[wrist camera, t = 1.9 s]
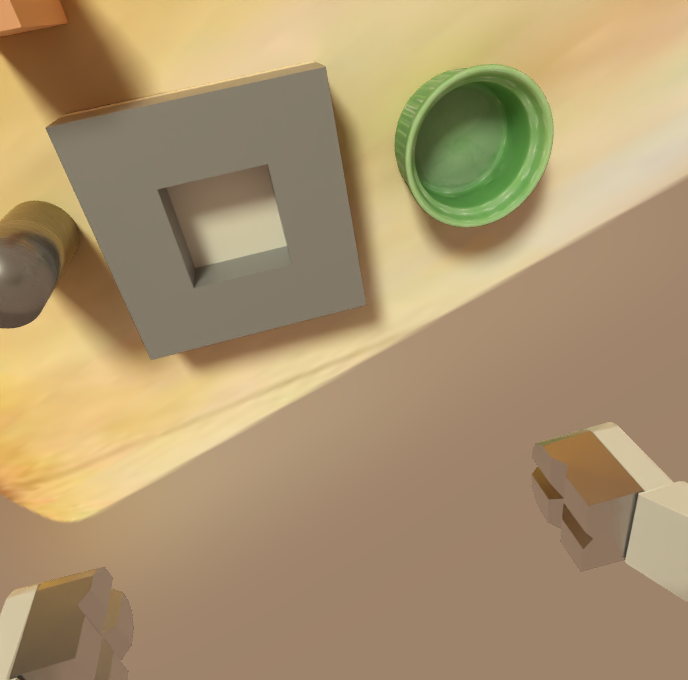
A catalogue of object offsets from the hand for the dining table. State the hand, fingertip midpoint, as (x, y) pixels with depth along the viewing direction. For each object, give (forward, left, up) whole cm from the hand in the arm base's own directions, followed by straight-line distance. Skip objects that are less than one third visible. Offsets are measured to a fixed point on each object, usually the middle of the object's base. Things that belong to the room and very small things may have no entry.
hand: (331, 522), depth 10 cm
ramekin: (-13, +1, -27) cm, 30 cm away
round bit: (+13, +1, -27) cm, 30 cm away
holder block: (+2, +2, -27) cm, 27 cm away
